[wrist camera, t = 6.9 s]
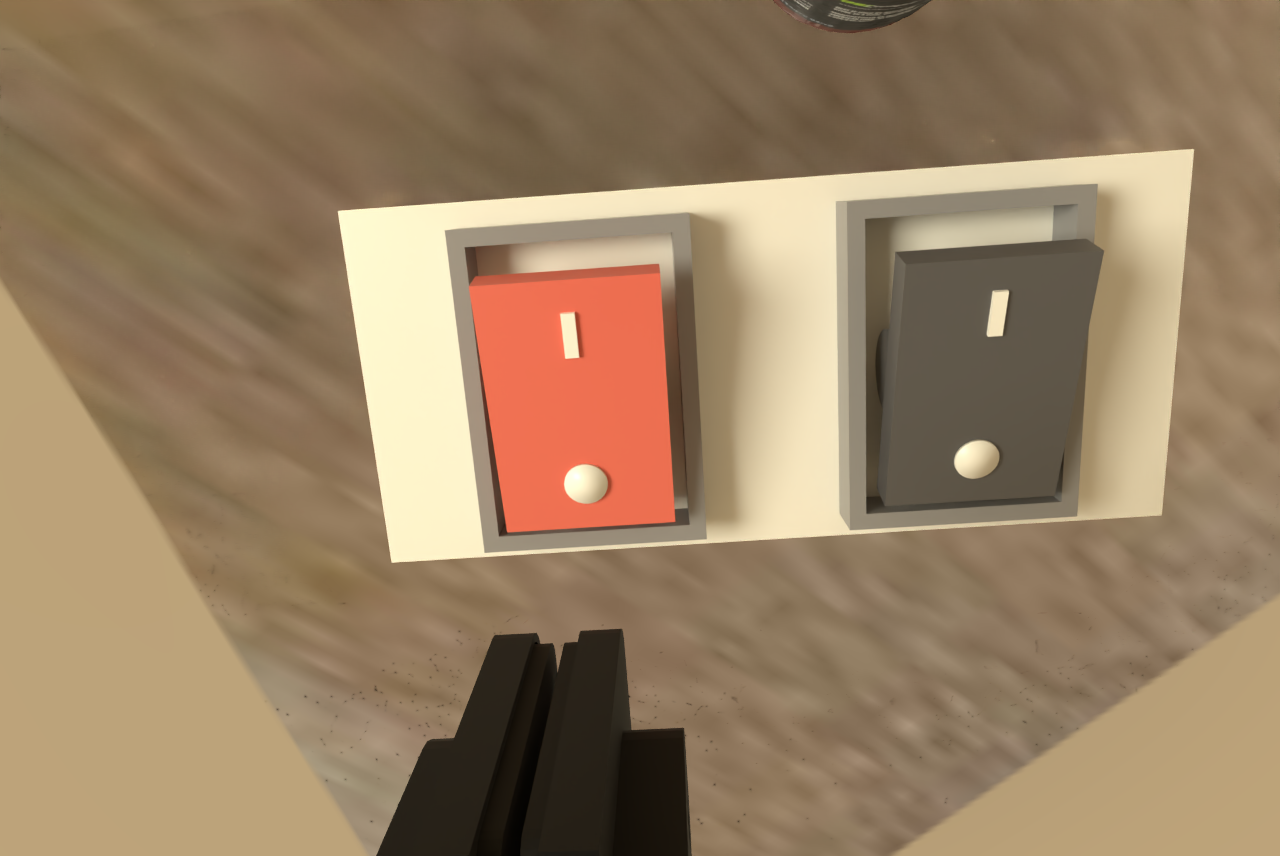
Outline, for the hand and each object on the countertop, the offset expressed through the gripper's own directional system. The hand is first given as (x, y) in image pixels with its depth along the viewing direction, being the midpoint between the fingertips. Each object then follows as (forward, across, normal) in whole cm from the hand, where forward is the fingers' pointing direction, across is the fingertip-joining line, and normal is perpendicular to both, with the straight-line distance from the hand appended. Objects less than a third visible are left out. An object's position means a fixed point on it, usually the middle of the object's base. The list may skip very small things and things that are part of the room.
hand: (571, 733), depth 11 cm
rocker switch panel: (+15, -4, -2) cm, 16 cm away
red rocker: (+10, +1, -2) cm, 10 cm away
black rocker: (+10, -8, -2) cm, 13 cm away
